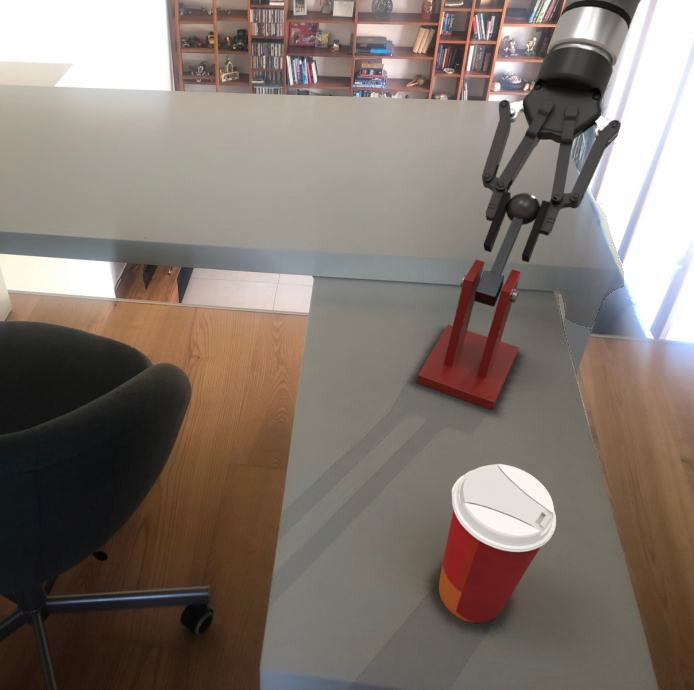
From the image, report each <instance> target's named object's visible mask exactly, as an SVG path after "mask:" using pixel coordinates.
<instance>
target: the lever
mask: <svg viewBox="0 0 694 690" xmlns="http://www.w3.org/2000/svg"><path fill="white" fill-rule="evenodd" d="M540 206H541V203H540V200H539V199H538V198H537V197H536V196H535V195H534V194H532V193H529V192H520V193H517V194H515V195H513V196H512V197H511V199H510V200H509V202H508V204H507V207H506V216H507V218H508V219H509V220H510V221H511V222H510V224H509V227H508V229H507V231H506V234H505V236H504V238H503V242H502V244H501V246H500V247H499V251H498V253H497V255H496V257H495V259H494V262H493V264H492V267H491V269H490V271H488V270H483V271H482V274H481V278H480V281H479V284H478V286H477V288H476V291H475V301H474V302H477V303H479V304H483V305H486V306H490V307H493V308H494V307H495V306H496V305H497V302H498V300H499V296H500V293H501V289H502V288H503V286H504V280H505V275H504V274H503V273H504V270H505V267H506V264H507V262H508V260H509V258H510V255H511V253H512V250H513V248H514V245H515V243H516V241H517V239H518V236H519V234H520V231H521V229H522V227H523V226H524V225H525V226H526V225H529V224H531V223H534V222H535V219H536V216H537V214H538V211H539V209H540Z"/></svg>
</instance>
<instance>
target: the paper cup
mask: <svg viewBox="0 0 694 690" xmlns="http://www.w3.org/2000/svg"><path fill="white" fill-rule="evenodd" d="M451 504H452V509H453V510H452V515H451V520H450V526H449V529H448V535H447V539H446V544H445V548H444V554H443V559H442V564H441V570H440V574H439V581H438V592H439V596H440V599H441V601H442V603H443V605H444V606H445V608H446V609H447V610H448V612H450V613H451V614H453V616H455V617H457V618H458V619H460V620H462V621H465V622H467V623H473V624H484V623H487V622H490V621H493V620H494V619H495V618H496V617H498V615H500V613H501V612H502V610H503V609H504V608H505V606H506V605H507V603H508V601H509V599H510V598H511V596H512V595H513V593H514V592H515V590H516V588H517V586H518V585H519V584H520V582H521V581H522V579H523V577H524V575H525V573H526V571H527V570H528V568H529V567H530V565H531V563H532V562H533V560H534V559H535V557H536V556H537V554H538V553H539V551H540V549H541V547H543V546H544V545H546V544H547V543H548V542H549V541H550V540H551V538H552V537H553V535H554V533H555V531H556V527H557V517H556V511H555V506H554V502H553V500H552V497H551V495H550V493H549V491H548V489H547V488H546V487H545V486H544V485H543V483H542V482H541V481H539V480H538V478H536V477H534V476H533V475H532V474H530V473H529V472H527V471H525V470H523V469H521V468H518V467H516V466H513V465H508V464H503V463H495V464H488V465H482V466H480V467H477V468H474V469H471V470H470V471H467V472H466V473H464V474H463V475H461V476H460V477H458V479H457V480H456V482H455V483H454V484H453V486H452V488H451Z"/></svg>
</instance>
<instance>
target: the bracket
mask: <svg viewBox="0 0 694 690" xmlns="http://www.w3.org/2000/svg"><path fill="white" fill-rule="evenodd" d="M484 266H485V261H483V260H479V259H475V260H474V262H473V263H472V265H471V266H470V269H469V270H468V272H467V273H466V274H463V276H462V278H461V282H460V284H459V285H460V288H461V289H460V294H459V298H458V302H457V307H456V311H455V315H454V318H453V323H452V324H447V325H446V326H445V329H444V330H443V332H442V334H441V335H440V336H439V339H438V340H437V342H436V344H435V345H434V347H433V349H432V351H431V352H430V354H429V355H428V358H427V359H426V360H425V362H424V364H423V365H422V367H421V369H420V371H419V373H418V374H417V376H416V377H417V378H416V384H418V385H421V386H425V387H427V388H430V389H433V390H434V391H435V390H436V391H438V392H442V393H443V394H446V395H450V396H451V397H455V398H458V399H461V400H463V401H466V402H469V403H471V404H475V405H477V406H479V407H482V408H485V409H488V410H491V411H492V410H493V409H494V407H495V405H496V403H497V400H498V398H499V395H500V394H501V391H502V389H503V387H504V384H505V382H506V380H507V378H508V375H509V373H510V371H511V369H512V367H513V364H514V362H515V359H516V358H517V356H518V353H519V350H520V347H519V346H517V345H513V344H511V343H507V342H504V341H502V338H503V334H504V331H505V327H506V324H507V321H508V319H509V314H510V311H511V307H512V305H513V304H514V303H516V301H517V299H518V296H519V293H520V290H518V289H517V288H518V284H519V281H520V279H521V274H522V271H519V270H517V269H511V270H510V273H509V274H508V276H507V278H506V279H505V282H504V283H503V287H502V289H501V292H500V294H499V296H498V299H497V302H496V307H495V310H494V313H493V317H492V321H491V325H490V328H489V332H488V334H487V336H486V335H482V334H479V333H477V332H473V331H470V330H468V328H469V324H470V321H471V316H472V313H473V309H474V305H475V302H476V301H475V291H476V288H477V286H478V284H479V281H480V279H481V277H482V275H483V271H484Z"/></svg>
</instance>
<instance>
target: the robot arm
mask: <svg viewBox="0 0 694 690" xmlns="http://www.w3.org/2000/svg"><path fill="white" fill-rule="evenodd" d="M641 1H642V0H565V3H564V5H563V7H562V10H561V13H560V16H559V19H558V21H557V22H556V25H555V28H554V31H553V34H552V35H551V38H550V41H549V44H548V45H547V50H546V53H547V54H546V55H545V56H544V57H543V60H542V63H541V65H540V68H539V70H538V73H537V76H536V78H535V81H534V84H533V87H532V89H531V90H530V91H529V92H528V93H527V94H526V95H525V96H524V97H523V99H522V100H519V101H513V102H510V101H509V100H507V99H503V100H500V102H499V103H498V115H499V116H498V117H499V120H498V123H497V127H496V129H495V133H494V136H493V139H492V142H491V146H490V148H489V151H488V156H487V158H486V161H485V164H484V168H483V171H482V174H481V180H482V186H483V187H484V188H485V189H489V191H492V194H491V197H490V200H489V202H488V205H487V207H486V210H485V219H486V221H489V222H491V224H490V226H489V229H488V230H487V233H486V234H487V235H486V237H485V239H484V242H483V249H484V251H485V252H489V253H492V251H493V248H494V246H495V244H496V241H497V238H498V235H499V232H500V230H501V228H502V225H503V222H504V220H505V217H506V215H507V212H506V207H507V204H508V202H509V200H510V199H511V198H512V197H511V196H512V195H511V192H510V189H511V187H512V186H513V184H514V182H515V181H516V179H517V177H518V176H519V174H520V172H521V171H522V169H523V167H524V166H525V164H526V163H527V161H528V159H529V157H530V156H531V155H532V153H533V151H534V150H535V148H536V147H537V146H538V145H539V143H540V142H541V141H553V142H555V143H556V144H559V148H558V154H557V160H556V166H555V172H554V178H553V184H552V190H551V195H550V199H549V201H548V200H545V199H542V200H541V203H540V209H539V211H538V214H537V216H536V219H535V220H534V221H533V224H532V227H531V230H530V232H529V236H528V238H527V240H526V243H525V246H524V248H523V251H522V253H521V261H522V262H526V263H529V262H530V260H531V259H532V255H533V252H534V249H535V247H536V244H537V242H538V240H539V236H540V235H544V236H549V235H550V234H551V233H552V232H553V229H554V226H555V223H556V222H557V218H558V215H559V213H560V211H561V210H563V209H566V208H571V209H577V208H579V207H580V206H581V204H582V202H583V199H584V197H585V195H586V193H587V190H588V189H589V186H590V185H591V182H592V179H593V177H594V175H595V173H596V171H597V168H598V166H599V164H600V162H601V159H602V157H603V156H604V153H605V150H606V149H607V148H608V147H609V146H610V145H611V144H612V143H613V142H614V141H615V139H617V137H618V136H619V133H620V129H621V126H622V123H621V122H620V120H618V119H613V120H610V119H609V118H607V117H606V116H604V115H602V113H603V109H602V106H601V105H602V101H603V98H604V96H605V93H606V90H607V88H608V85H609V83H610V79H611V77H612V74H613V72H614V71H613V70H614V69H613V67H614V66H615V65H616V64H617V61H618V58H619V56H620V53H621V51H622V49H623V45H624V43H625V41H626V38H627V35H628V33H629V30H630V27H631V24H632V21H633V18H635V17H634V16H635V14H636V12H637V9H638V7H639V5H640V2H641ZM521 113H523V114H524V117H525V120H526V123H527V126H528V127H527V129H526V131H525V133H524V136H523V138H522V139H521V141H520V143H519V144H518V146H517V148H516V149H515V151H514V153H513V154H512V156H511V157H510V159H509V161H508V162H507V164H506V166H505V168H504V169H503V171H502V172H501V174H500V175H499V177H498V176H497V175H498V171H499V168H500V165H501V163H502V162H501V161H502V159H503V155H504V152H505V148H506V146H507V143H508V139H509V136H510V133H511V128H512V127H511V126H512V123H515V122H516V121H518V118H519V116H520V114H521ZM593 126H594V127H595V130H594V134H593V136H594V141H593V144H592V146H591V148H590V151H589V153H588V155H587V157H586V159H585V161H584V163H583V166H582V168H581V170H580V173H579V175H578V176H577V179H576V181H575V184H574V186H573V188H572V190H571V192H567V193H565V188H566V182H567V177H568V171H569V165H570V164H569V163H570V158H571V157H570V156H571V152H572V145H573V141H574V140H575V139H576V138H578V137H580V136H581V135H582V134H584V133H585V132H587V131H588V130H589V129H591V128H593Z"/></svg>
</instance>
